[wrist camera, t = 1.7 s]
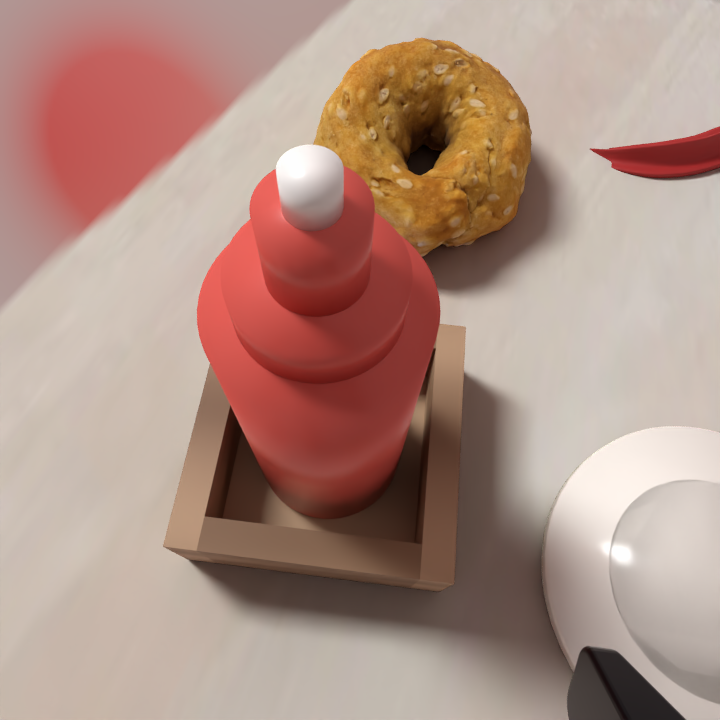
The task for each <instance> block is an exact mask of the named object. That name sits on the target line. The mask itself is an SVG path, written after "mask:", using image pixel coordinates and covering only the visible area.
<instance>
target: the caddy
mask: <svg viewBox="0 0 720 720" xmlns="http://www.w3.org/2000/svg"><path fill="white" fill-rule="evenodd" d="M465 333H466V327H463V326H454V325H446V324H439V329H438V333H437V338H436V341H435V345H434V348H433V351H432V354H431V358H430V361H429V364H428V368H427V371H426V374H425V377H424V381H423V384H422V387H421V390H420V394H419V397H418V400H417V404H416V407H415V410H414V413H413V417H412V420H411V423H410V426H409V430H408V433H407V436H406V440H405V443H404V446H403V449H402V453H401V456H400V459H399V462H398V466H397V469H396V472H395V474H394V477H393V479H392V481H391V483H390V485H389V487H388V488H387V489H386V491H385V492H384V493H383V495H382V496H381V497H380V498H379V499H378V500H377V501H376V502H374V503H373V504H372V505H370V506H369V507H367V508H366V509H364V510H362V511H361V512H358V513H356V514H353V515H350V516H347V517H343V518H336V519H322V518H314V517H311V516H307V515H304V514H302V513H299V512H297V511H295V510H294V509H292V508H290V507H289V506H287V505H286V504H285V503H284V502H282V501H281V500H280V499H279V498H278V497H277V495H276V494H275V493H274V492H273V490H272V489H271V487H270V486H269V484H268V482H267V480H266V478H265V476H264V474H263V472H262V470H261V468H260V466H259V464H258V461H257V459H256V457H255V455H254V453H253V451H252V449H251V447H250V445H249V443H248V441H247V439H246V437H245V434H244V432H243V430H242V428H241V426H240V424H239V422H238V420H237V418H236V416H235V414H234V412H233V410H232V407H231V405H230V403H229V401H228V399H227V397H226V395H225V393H224V391H223V389H222V387H221V385H220V383H219V380H218V378H217V376H216V374H215V372H214V370H213V368H212V366H211V364H210V366H209V370H208V374H207V378H206V381H205V385H204V389H203V393H202V397H201V401H200V405H199V409H198V412H197V416H196V420H195V424H194V428H193V432H192V436H191V440H190V443H189V447H188V451H187V455H186V459H185V463H184V467H183V471H182V475H181V478H180V482H179V486H178V490H177V494H176V498H175V502H174V506H173V509H172V513H171V517H170V521H169V525H168V529H167V533H166V537H165V540H164V544H163V547H165V548H167V549H169V550H171V551H173V552H175V553H176V554H178V555H180V556H182V557H184V558H186V559H189V560H197V561H204V562H212V563H220V564H227V565H235V566H243V567H251V568H258V569H266V570H274V571H282V572H289V573H297V574H305V575H312V576H320V577H328V578H336V579H343V580H351V581H359V582H367V583H374V584H382V585H390V586H398V587H405V588H413V589H421V590H428V591H436V592H440V591H442V590H444V589H446V588H448V587H449V586H451V585H453V584H454V580H455V557H456V535H457V513H458V490H459V468H460V445H461V423H462V401H463V378H464V356H465Z"/></svg>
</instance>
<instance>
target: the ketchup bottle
mask: <svg viewBox="0 0 720 720" xmlns="http://www.w3.org/2000/svg"><path fill="white" fill-rule="evenodd" d="M250 217H251V219H250V220H249V221H248V222H247V223H246V224H245V225H244V226H242V227H241V229H240V230H239V231H238V232H237V233H236V235H235V236H234V237H233V239H232V241H231V242H230V244H229V245H228V246H227V247H226V248H225V249H224V250H223V251H222V252H221V253H220V255H219V256H218V257H217V258H216V260H215V261H214V263H213V264H212V266H211V267H210V269H209V271H208V273H207V275H206V277H205V279H204V282H203V284H202V288H201V291H200V295H199V300H198V307H197V325H198V330H199V336H200V340H201V343H202V346H203V349H204V351H205V354H206V356H207V358H208V360H209V362H210V364H211V366H212V368H213V370H214V372H215V374H216V376H217V378H218V380H219V383H220V385H221V387H222V389H223V391H224V393H225V395H226V397H227V399H228V401H229V403H230V405H231V407H232V410H233V412H234V414H235V416H236V418H237V420H238V422H239V424H240V426H241V428H242V430H243V432H244V434H245V437H246V439H247V441H248V443H249V445H250V447H251V449H252V451H253V453H254V455H255V457H256V459H257V461H258V464H259V466H260V468H261V470H262V472H263V474H264V476H265V478H266V480H267V482H268V484H269V486H270V487H271V489H272V490H273V492H274V493H275V494H276V495H277V497H278V498H279V499H280V500H281V501H282V502H284V503H285V504H286V505H287V506H289V507H290V508H292V509H294V510H295V511H297V512H299V513H302V514H304V515H307V516H311V517H314V518H322V519H336V518H343V517H347V516H350V515H353V514H356V513H358V512H361V511H362V510H364V509H366V508H367V507H369V506H370V505H372V504H373V503H374V502H376V501H377V500H378V499H379V498H380V497H381V496H382V495H383V493H384V492H385V491H386V489H387V488H388V487H389V485H390V483H391V481H392V479H393V477H394V474H395V472H396V469H397V466H398V462H399V459H400V456H401V453H402V449H403V446H404V443H405V440H406V436H407V433H408V430H409V426H410V423H411V420H412V417H413V413H414V410H415V407H416V404H417V400H418V397H419V394H420V390H421V387H422V384H423V381H424V377H425V374H426V371H427V368H428V364H429V361H430V358H431V354H432V351H433V348H434V345H435V341H436V338H437V333H438V329H439V323H440V301H439V295H438V290H437V286H436V283H435V281H434V278H433V275H432V273H431V271H430V269H429V268H428V266H427V264H426V262H425V261H424V259H423V258H422V257H421V255H420V254H419V253H418V251H417V250H416V249H415V248H414V247H413V246H412V245H411V244H410V243H409V242H408V241H407V240H406V239H405V238H403V237H402V236H401V235H399V234H398V232H397V231H396V230H395V229H394V228H393V227H392V226H391V225H390V224H389V223H388V222H387V221H386V220H385V219H384V218H382V217H381V216H380V215H379V214H377V213H375V203H374V198H373V195H372V192H371V190H370V188H369V186H368V185H367V183H366V182H365V181H364V180H363V179H362V178H361V177H360V176H359V175H358V174H357V173H355V172H354V171H353V170H351V169H349V168H348V167H345V166H343V163H342V161H341V159H340V158H339V156H338V155H337V154H336V153H334V152H333V151H332V150H330V149H328V148H326V147H323V146H319V145H302V146H298V147H295V148H292V149H290V150H288V151H287V152H286V153H284V154H283V155H282V156H281V158H280V159H279V161H278V163H277V166H276V169H275V170H273V171H272V172H270V173H269V174H268V175H267V176H265V177H264V178H263V179H262V180H261V181H260V183H259V184H258V185H257V187H256V188H255V190H254V192H253V194H252V197H251V201H250Z"/></svg>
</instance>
